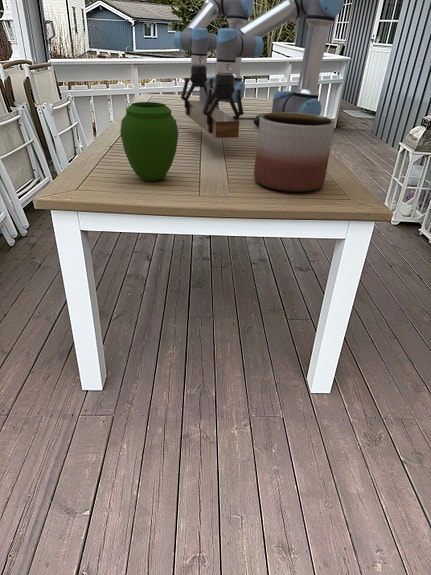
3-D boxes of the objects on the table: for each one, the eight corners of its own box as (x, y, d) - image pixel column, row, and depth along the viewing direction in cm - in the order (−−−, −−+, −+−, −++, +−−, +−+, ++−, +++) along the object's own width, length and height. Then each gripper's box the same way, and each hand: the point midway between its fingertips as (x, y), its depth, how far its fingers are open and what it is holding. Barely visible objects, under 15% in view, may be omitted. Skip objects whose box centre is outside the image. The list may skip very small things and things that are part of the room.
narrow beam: (185, 113, 214) (185, 100, 210) (203, 113, 216) (204, 100, 213) (215, 137, 168) (216, 121, 164) (238, 137, 170) (239, 121, 167)
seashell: (267, 127, 236) (269, 112, 232) (270, 129, 231) (271, 114, 227) (251, 126, 235) (253, 111, 230) (253, 128, 230) (255, 113, 226)
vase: (131, 189, 135) (125, 110, 122) (118, 172, 150) (112, 100, 137) (186, 184, 142) (187, 109, 129) (169, 168, 157) (167, 99, 144)
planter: (334, 194, 140) (348, 126, 129) (263, 195, 136) (271, 125, 125) (308, 172, 162) (318, 112, 150) (246, 172, 157) (251, 111, 146)
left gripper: (177, 65, 191) (177, 116, 203) (223, 67, 197) (221, 116, 209) (174, 64, 197) (174, 113, 209) (219, 65, 203) (216, 113, 215)
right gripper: (199, 74, 157) (198, 134, 169) (254, 75, 163) (249, 134, 174) (195, 72, 163) (194, 130, 175) (248, 73, 169) (243, 130, 180)
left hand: (197, 114), depth 209 cm, fingers closed on narrow beam, 10 cm apart
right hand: (221, 132), depth 174 cm, fingers closed on narrow beam, 10 cm apart
